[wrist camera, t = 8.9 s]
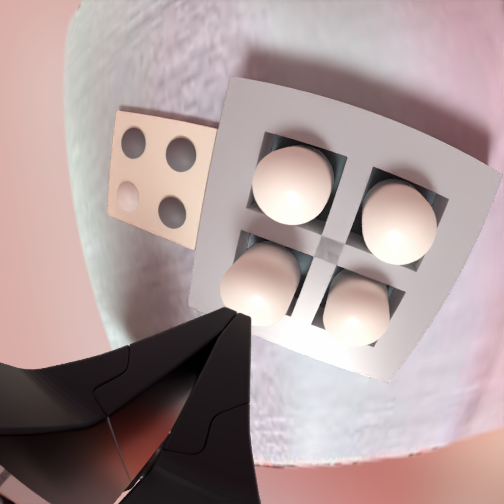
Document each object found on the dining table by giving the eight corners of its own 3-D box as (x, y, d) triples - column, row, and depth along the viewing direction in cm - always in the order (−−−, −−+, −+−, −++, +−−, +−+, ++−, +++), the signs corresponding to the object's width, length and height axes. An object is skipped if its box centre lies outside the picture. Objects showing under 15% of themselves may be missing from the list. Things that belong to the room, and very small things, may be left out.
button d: (322, 218, 18) (315, 235, 16) (262, 197, 19) (244, 210, 16) (342, 156, 17) (339, 162, 14) (278, 136, 17) (262, 138, 15)
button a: (372, 324, 20) (371, 354, 17) (321, 306, 21) (313, 333, 18) (396, 278, 18) (401, 304, 15) (341, 257, 19) (337, 280, 16)
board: (387, 361, 21) (388, 383, 19) (202, 290, 24) (187, 305, 22) (487, 168, 14) (502, 174, 12) (245, 81, 17) (230, 75, 15)
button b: (290, 306, 20) (277, 335, 17) (235, 284, 21) (214, 310, 18) (309, 255, 18) (298, 279, 15) (247, 232, 19) (227, 252, 16)
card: (197, 248, 23) (193, 251, 22) (110, 213, 25) (106, 215, 24) (219, 129, 19) (216, 129, 18) (120, 110, 20) (115, 110, 20)
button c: (409, 252, 17) (417, 275, 15) (352, 229, 18) (351, 249, 15) (434, 193, 15) (448, 207, 13) (374, 168, 16) (378, 177, 13)
